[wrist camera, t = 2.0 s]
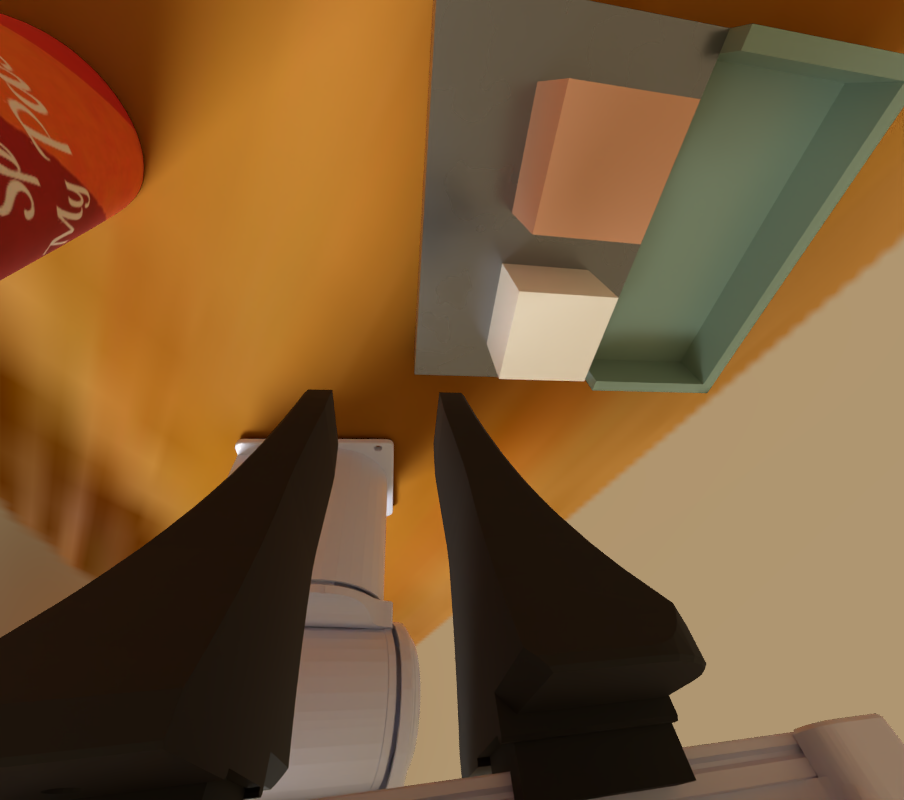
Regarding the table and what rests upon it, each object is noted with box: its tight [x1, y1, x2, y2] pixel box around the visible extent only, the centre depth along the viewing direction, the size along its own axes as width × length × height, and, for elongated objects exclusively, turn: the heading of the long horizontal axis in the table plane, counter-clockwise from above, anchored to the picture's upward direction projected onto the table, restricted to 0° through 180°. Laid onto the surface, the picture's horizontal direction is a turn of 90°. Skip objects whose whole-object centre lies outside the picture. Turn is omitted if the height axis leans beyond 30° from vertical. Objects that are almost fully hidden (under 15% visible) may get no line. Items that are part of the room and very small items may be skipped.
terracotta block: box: [512, 78, 700, 244], centre depth 13 cm, size 4×4×3 cm
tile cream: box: [487, 263, 618, 381], centre depth 16 cm, size 4×4×3 cm
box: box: [585, 24, 904, 393], centre depth 17 cm, size 7×14×2 cm, turn 174°
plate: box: [414, 0, 730, 379], centre depth 16 cm, size 10×14×2 cm
